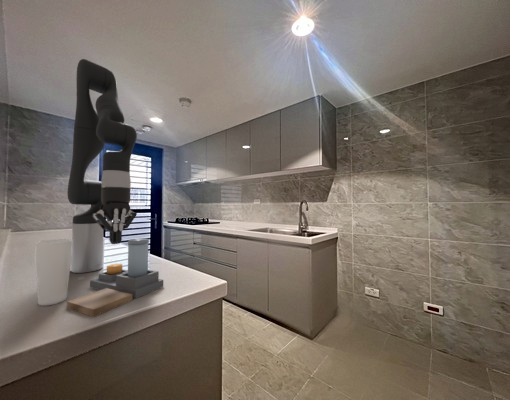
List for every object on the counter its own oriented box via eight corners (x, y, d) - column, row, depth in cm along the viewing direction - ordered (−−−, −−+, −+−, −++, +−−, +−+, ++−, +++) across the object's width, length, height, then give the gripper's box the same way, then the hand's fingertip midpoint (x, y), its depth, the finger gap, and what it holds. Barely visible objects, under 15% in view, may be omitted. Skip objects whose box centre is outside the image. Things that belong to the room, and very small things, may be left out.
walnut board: (66, 307, 50) (67, 301, 50) (106, 293, 59) (106, 288, 59) (93, 316, 46) (93, 309, 47) (132, 300, 55) (132, 294, 55)
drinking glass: (36, 311, 49) (38, 244, 49) (30, 302, 53) (32, 241, 53) (74, 300, 54) (75, 240, 55) (66, 294, 58) (68, 237, 59)
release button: (103, 273, 65) (103, 266, 65) (116, 269, 68) (116, 263, 68) (112, 275, 63) (112, 268, 63) (125, 271, 67) (125, 264, 67)
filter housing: (89, 287, 63) (90, 271, 63) (119, 278, 71) (120, 264, 72) (135, 298, 56) (136, 280, 56) (163, 286, 64) (163, 271, 64)
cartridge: (122, 283, 60) (123, 240, 61) (139, 278, 65) (140, 238, 66) (136, 286, 58) (136, 241, 59) (152, 280, 63) (152, 239, 64)
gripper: (128, 188, 74) (127, 239, 74) (84, 185, 62) (83, 246, 61) (143, 188, 71) (143, 241, 71) (101, 184, 59) (100, 248, 58)
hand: (115, 243), depth 66 cm, fingers closed
